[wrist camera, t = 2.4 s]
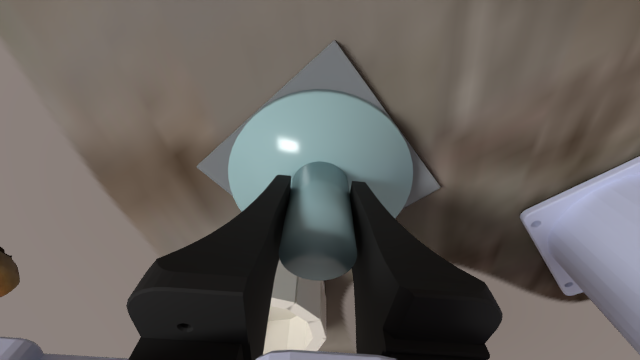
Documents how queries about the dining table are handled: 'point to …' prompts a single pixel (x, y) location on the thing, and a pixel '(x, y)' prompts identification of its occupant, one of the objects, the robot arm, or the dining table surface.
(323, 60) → the mat
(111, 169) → the dining table surface
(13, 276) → the pastry
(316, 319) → the bowl
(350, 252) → the lid
